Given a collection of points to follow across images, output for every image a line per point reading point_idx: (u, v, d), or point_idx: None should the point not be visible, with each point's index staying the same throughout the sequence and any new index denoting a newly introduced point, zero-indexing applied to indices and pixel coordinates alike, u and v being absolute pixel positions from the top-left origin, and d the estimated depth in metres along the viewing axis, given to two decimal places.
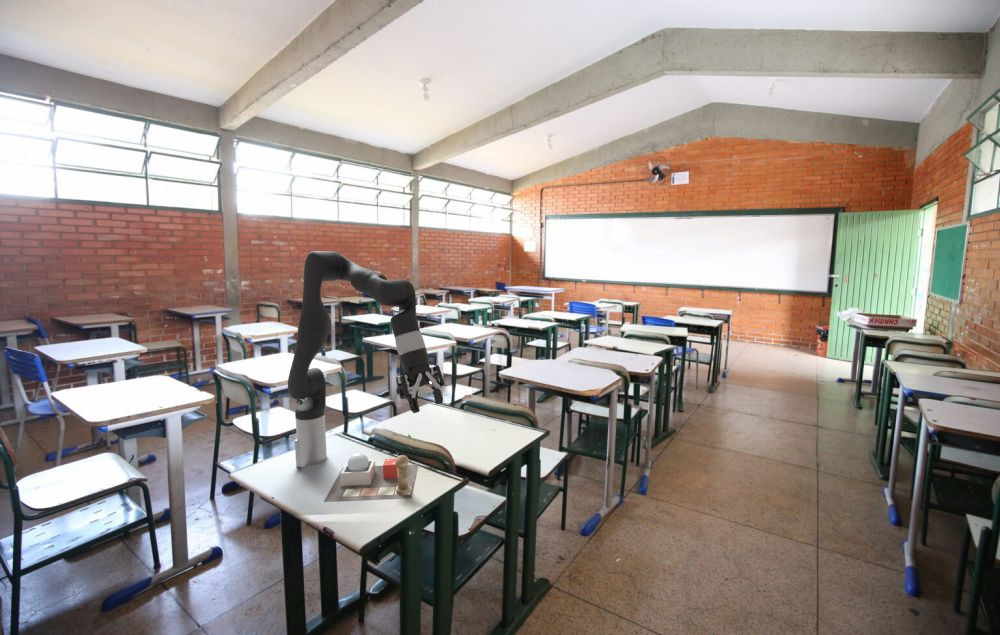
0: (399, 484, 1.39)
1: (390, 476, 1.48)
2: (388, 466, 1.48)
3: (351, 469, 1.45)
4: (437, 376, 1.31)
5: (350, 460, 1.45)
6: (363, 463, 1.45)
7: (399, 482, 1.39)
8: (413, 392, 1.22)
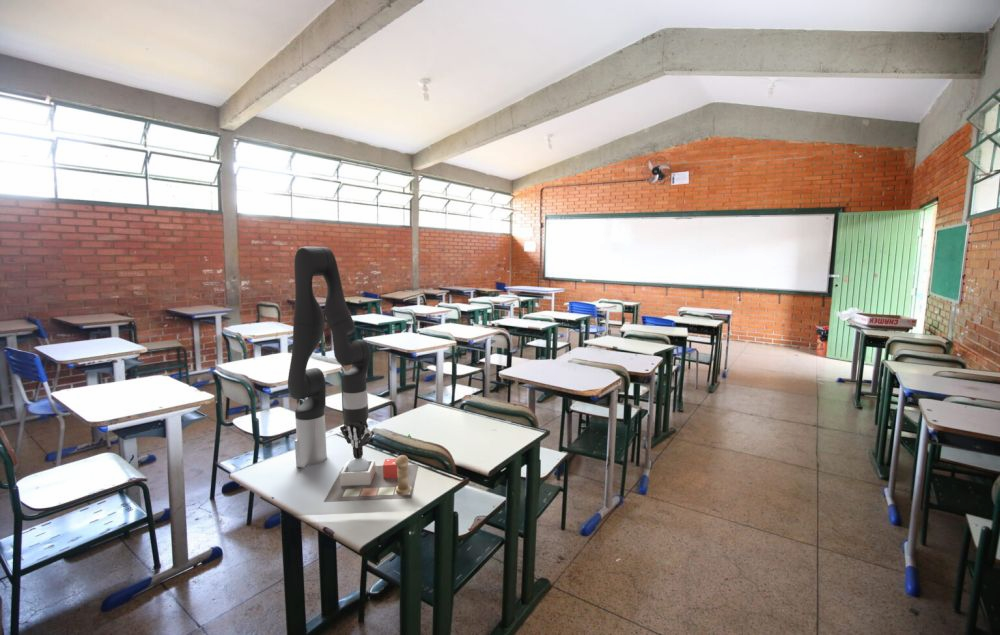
0: (399, 484, 1.39)
1: (390, 476, 1.48)
2: (388, 466, 1.48)
3: None
4: None
5: (350, 464, 1.46)
6: (363, 467, 1.46)
7: (399, 482, 1.39)
8: (351, 442, 1.46)
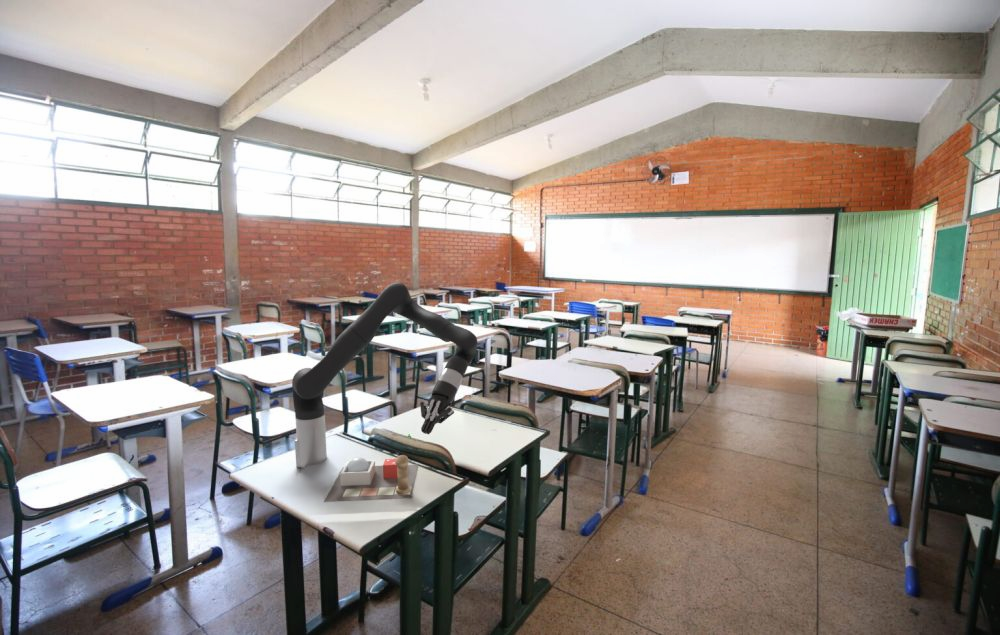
0: (399, 484, 1.39)
1: (390, 476, 1.48)
2: (388, 466, 1.48)
3: None
4: None
5: (350, 465, 1.46)
6: (363, 468, 1.46)
7: (399, 482, 1.39)
8: (426, 415, 1.50)
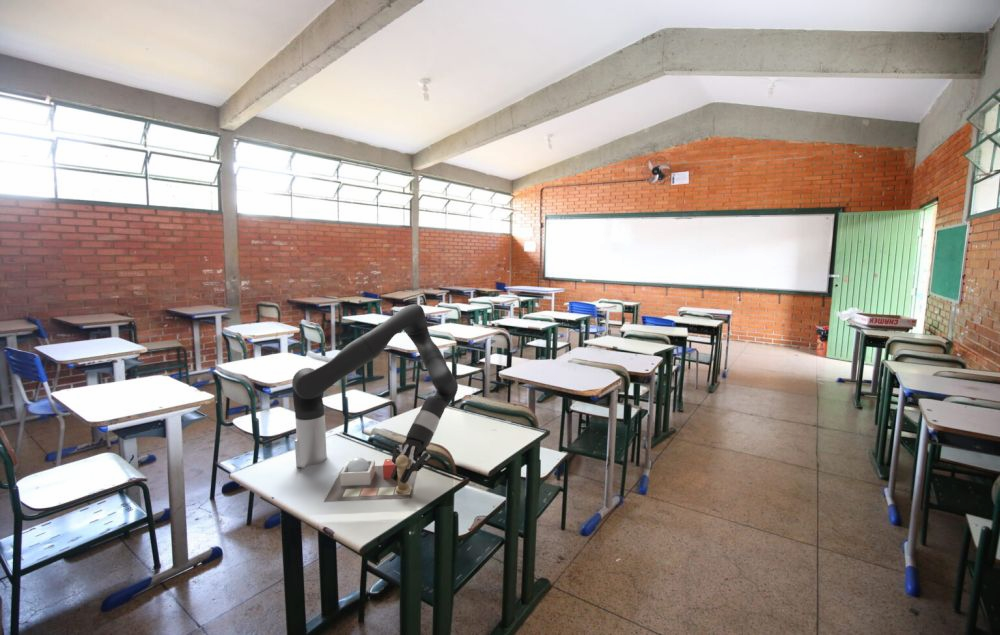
0: (399, 484, 1.39)
1: (390, 476, 1.48)
2: (388, 466, 1.48)
3: None
4: None
5: (350, 465, 1.46)
6: (363, 468, 1.46)
7: (399, 482, 1.39)
8: None
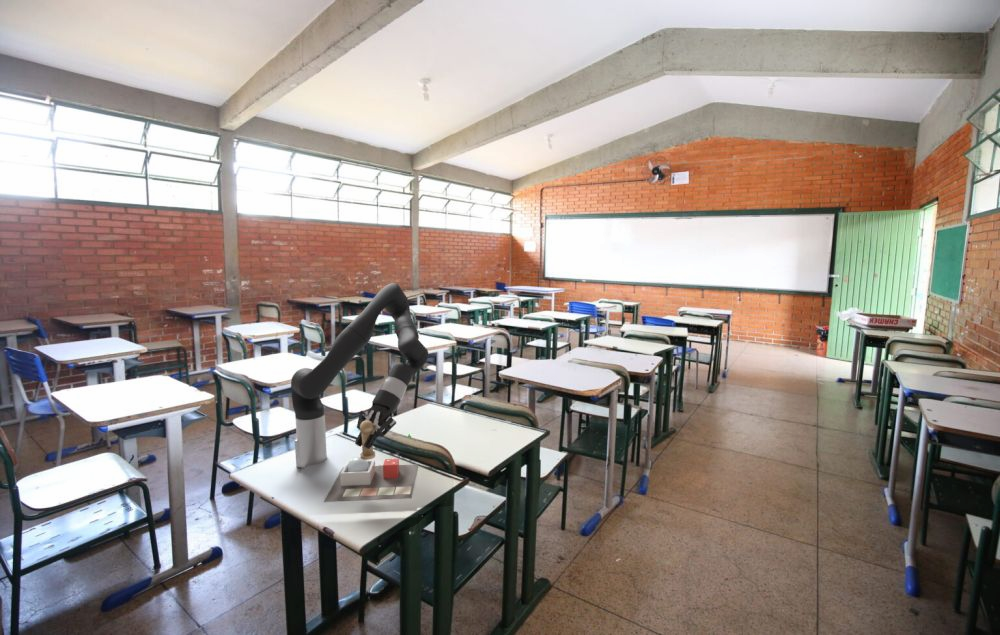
0: (363, 450, 1.37)
1: (390, 476, 1.48)
2: (388, 466, 1.48)
3: None
4: None
5: (350, 465, 1.46)
6: (363, 468, 1.46)
7: (363, 448, 1.37)
8: None
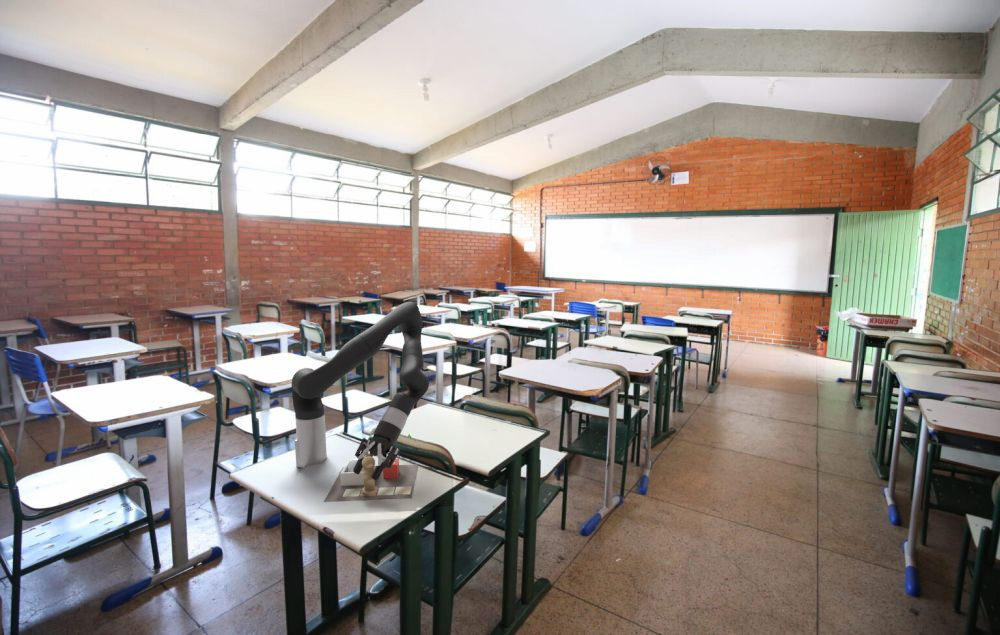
0: (365, 485, 1.38)
1: (390, 476, 1.48)
2: None
3: None
4: None
5: (350, 465, 1.46)
6: None
7: (365, 483, 1.38)
8: (361, 454, 1.41)
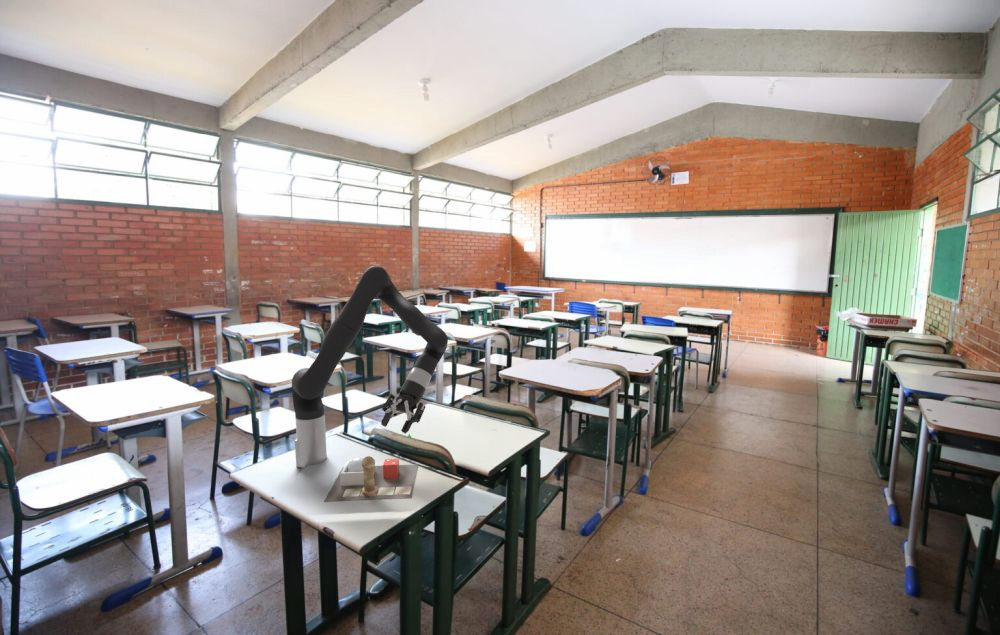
0: (365, 485, 1.38)
1: (390, 476, 1.48)
2: (388, 466, 1.48)
3: None
4: None
5: (350, 465, 1.46)
6: None
7: (365, 483, 1.38)
8: (388, 409, 1.53)
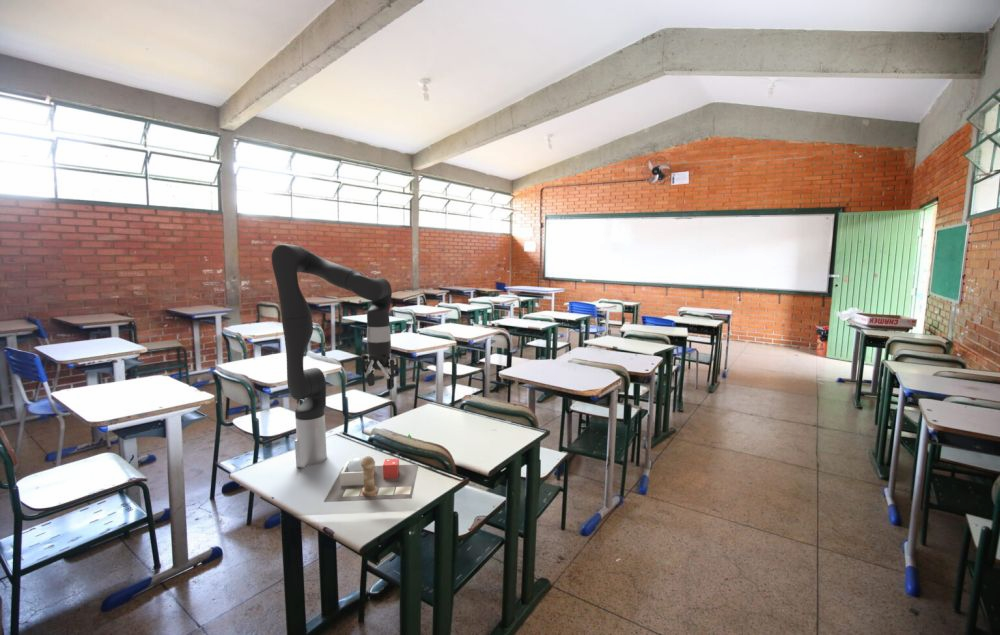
0: (365, 486, 1.38)
1: (390, 476, 1.48)
2: (388, 466, 1.48)
3: None
4: None
5: (350, 465, 1.46)
6: None
7: (365, 484, 1.38)
8: (367, 371, 1.56)
